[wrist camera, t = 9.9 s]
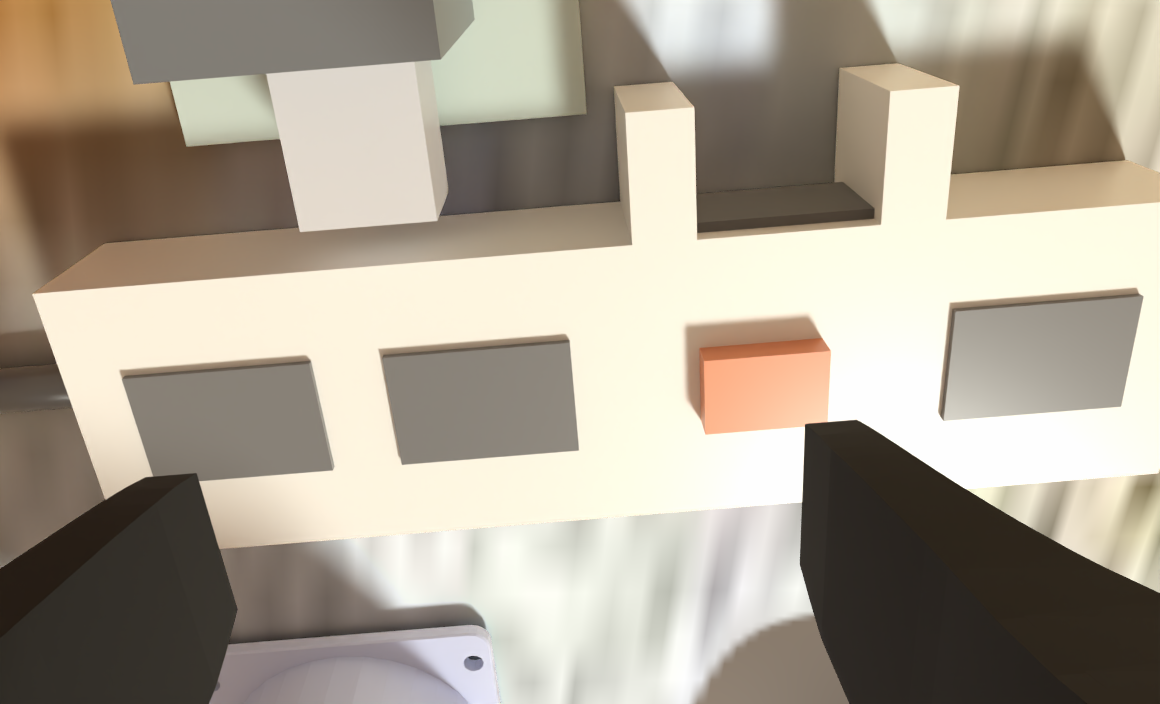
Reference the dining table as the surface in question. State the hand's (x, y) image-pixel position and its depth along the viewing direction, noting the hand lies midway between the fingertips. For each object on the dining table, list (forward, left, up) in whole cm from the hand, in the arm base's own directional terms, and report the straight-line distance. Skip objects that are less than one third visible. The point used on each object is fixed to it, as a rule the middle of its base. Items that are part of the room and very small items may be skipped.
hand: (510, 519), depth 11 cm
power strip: (-1, +1, -10) cm, 10 cm away
